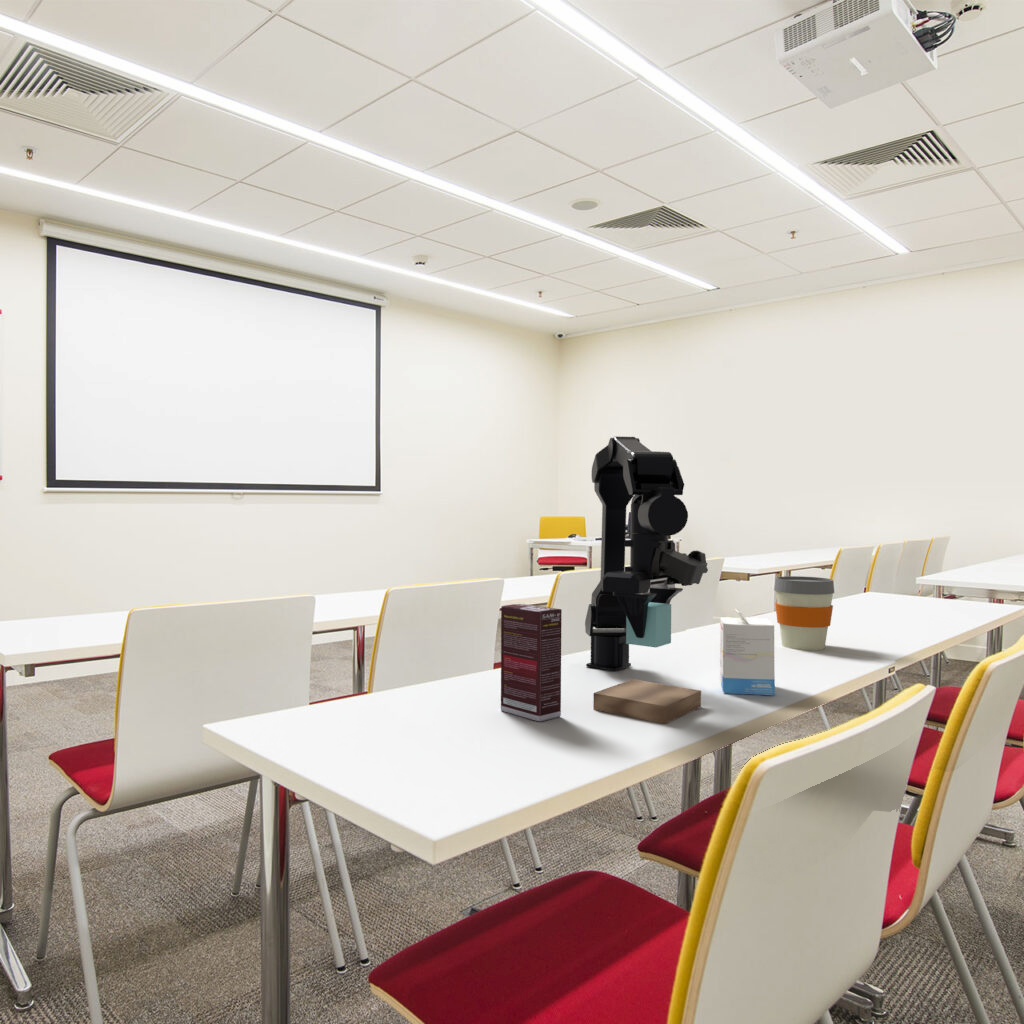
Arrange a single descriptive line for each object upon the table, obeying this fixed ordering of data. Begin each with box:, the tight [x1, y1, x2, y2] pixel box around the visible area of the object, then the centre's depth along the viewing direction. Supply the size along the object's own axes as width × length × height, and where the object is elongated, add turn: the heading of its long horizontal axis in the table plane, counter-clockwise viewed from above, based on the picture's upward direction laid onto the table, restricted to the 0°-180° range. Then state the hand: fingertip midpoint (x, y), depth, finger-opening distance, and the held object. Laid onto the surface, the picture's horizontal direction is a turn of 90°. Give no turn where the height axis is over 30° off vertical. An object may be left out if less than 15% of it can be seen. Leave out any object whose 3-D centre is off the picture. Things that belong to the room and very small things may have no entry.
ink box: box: [719, 607, 776, 696], centre depth 131 cm, size 9×8×13 cm
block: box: [626, 602, 672, 648], centre depth 118 cm, size 5×5×6 cm
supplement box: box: [500, 603, 562, 722], centre depth 114 cm, size 9×5×16 cm, turn 43°
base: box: [592, 678, 702, 725], centre depth 118 cm, size 12×12×2 cm
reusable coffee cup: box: [773, 575, 835, 651], centre depth 171 cm, size 13×13×15 cm
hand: (648, 635), depth 118 cm, fingers closed on block, 5 cm apart
